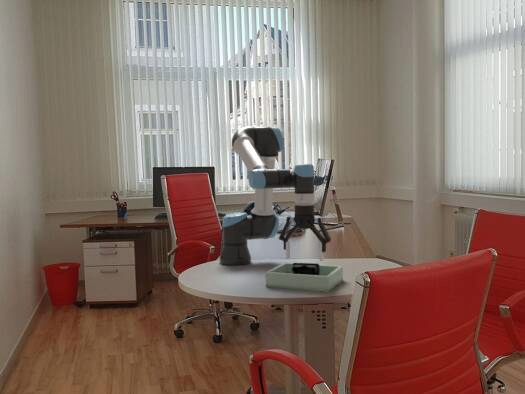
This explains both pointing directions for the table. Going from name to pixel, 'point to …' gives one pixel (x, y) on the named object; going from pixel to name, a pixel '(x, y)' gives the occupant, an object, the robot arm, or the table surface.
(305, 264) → the end cap
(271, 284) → the walled box
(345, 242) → the table surface
